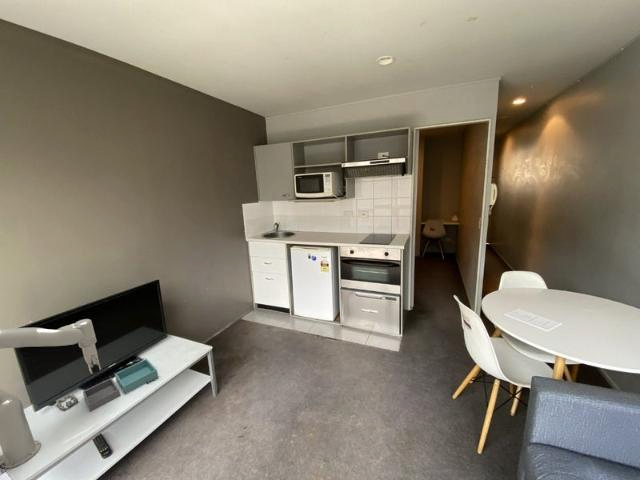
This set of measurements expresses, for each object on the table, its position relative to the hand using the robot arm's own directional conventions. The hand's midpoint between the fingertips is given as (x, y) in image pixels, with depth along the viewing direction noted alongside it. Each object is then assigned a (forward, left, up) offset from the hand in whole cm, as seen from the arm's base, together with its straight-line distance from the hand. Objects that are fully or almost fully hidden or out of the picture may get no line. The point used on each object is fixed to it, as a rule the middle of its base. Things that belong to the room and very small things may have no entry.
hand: (95, 369), depth 155 cm
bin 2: (+18, 0, -19) cm, 26 cm away
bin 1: (0, 0, -19) cm, 19 cm away
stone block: (0, 0, 0) cm, 0 cm away
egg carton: (-14, +10, -20) cm, 26 cm away
